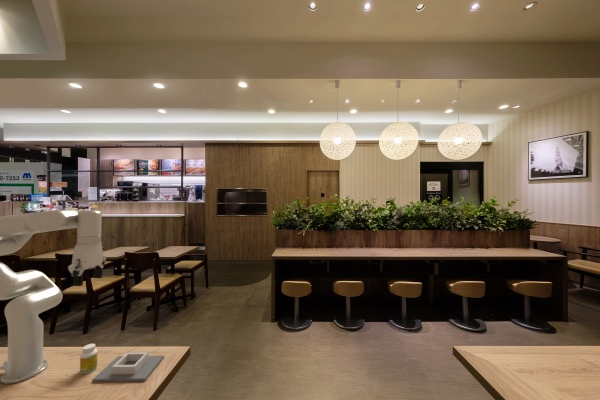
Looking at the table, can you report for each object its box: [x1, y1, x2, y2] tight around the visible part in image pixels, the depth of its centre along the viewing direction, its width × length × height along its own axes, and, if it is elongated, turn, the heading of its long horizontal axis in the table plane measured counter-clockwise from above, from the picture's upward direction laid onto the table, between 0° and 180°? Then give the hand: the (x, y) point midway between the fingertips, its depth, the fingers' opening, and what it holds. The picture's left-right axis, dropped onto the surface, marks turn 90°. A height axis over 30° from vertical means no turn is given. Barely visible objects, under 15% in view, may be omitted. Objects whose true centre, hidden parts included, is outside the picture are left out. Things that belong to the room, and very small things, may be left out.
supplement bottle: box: [79, 343, 99, 375], centre depth 99 cm, size 5×5×10 cm
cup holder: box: [91, 352, 165, 383], centre depth 100 cm, size 20×14×4 cm
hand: (88, 281), depth 98 cm, fingers open, 9 cm apart
